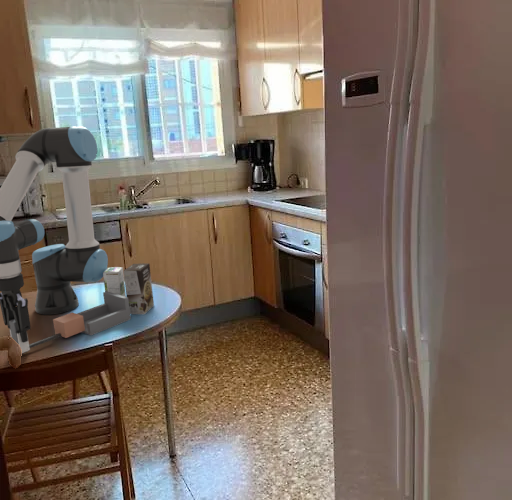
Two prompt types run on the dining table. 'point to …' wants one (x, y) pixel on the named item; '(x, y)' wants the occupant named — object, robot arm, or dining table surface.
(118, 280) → the syrup box
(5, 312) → the robot arm
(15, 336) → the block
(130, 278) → the coffee box
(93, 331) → the tray
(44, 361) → the dining table surface
